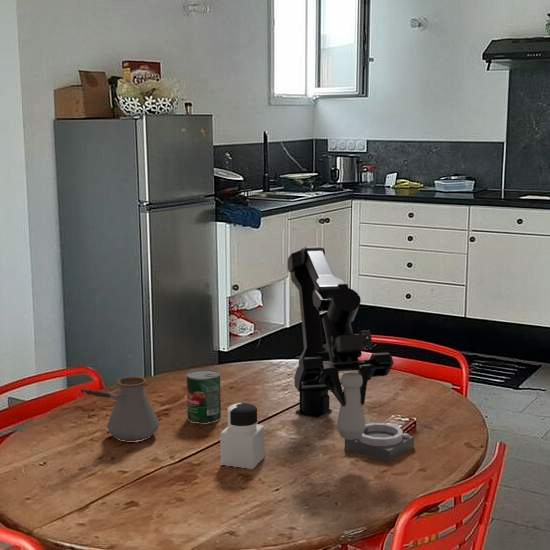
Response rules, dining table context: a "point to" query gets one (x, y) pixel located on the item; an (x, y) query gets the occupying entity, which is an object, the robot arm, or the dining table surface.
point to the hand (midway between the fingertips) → (353, 404)
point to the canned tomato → (203, 395)
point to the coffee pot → (130, 410)
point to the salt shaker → (351, 408)
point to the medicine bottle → (242, 438)
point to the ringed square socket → (381, 442)
